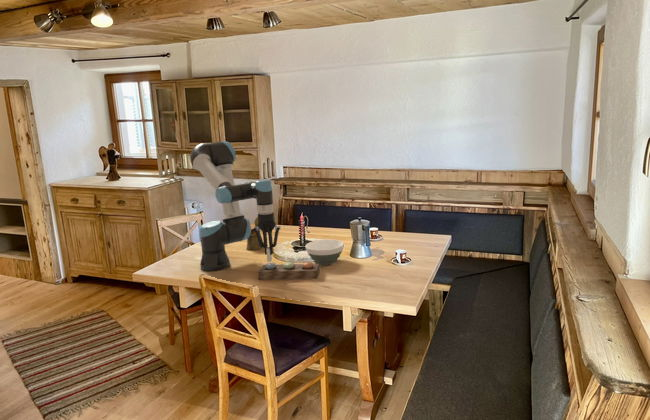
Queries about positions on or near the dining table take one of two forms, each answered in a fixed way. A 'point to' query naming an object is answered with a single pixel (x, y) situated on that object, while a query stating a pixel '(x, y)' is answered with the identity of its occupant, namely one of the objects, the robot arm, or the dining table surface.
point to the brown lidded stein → (253, 239)
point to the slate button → (270, 266)
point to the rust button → (307, 265)
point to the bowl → (325, 251)
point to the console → (289, 272)
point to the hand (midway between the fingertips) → (269, 260)
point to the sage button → (289, 265)
